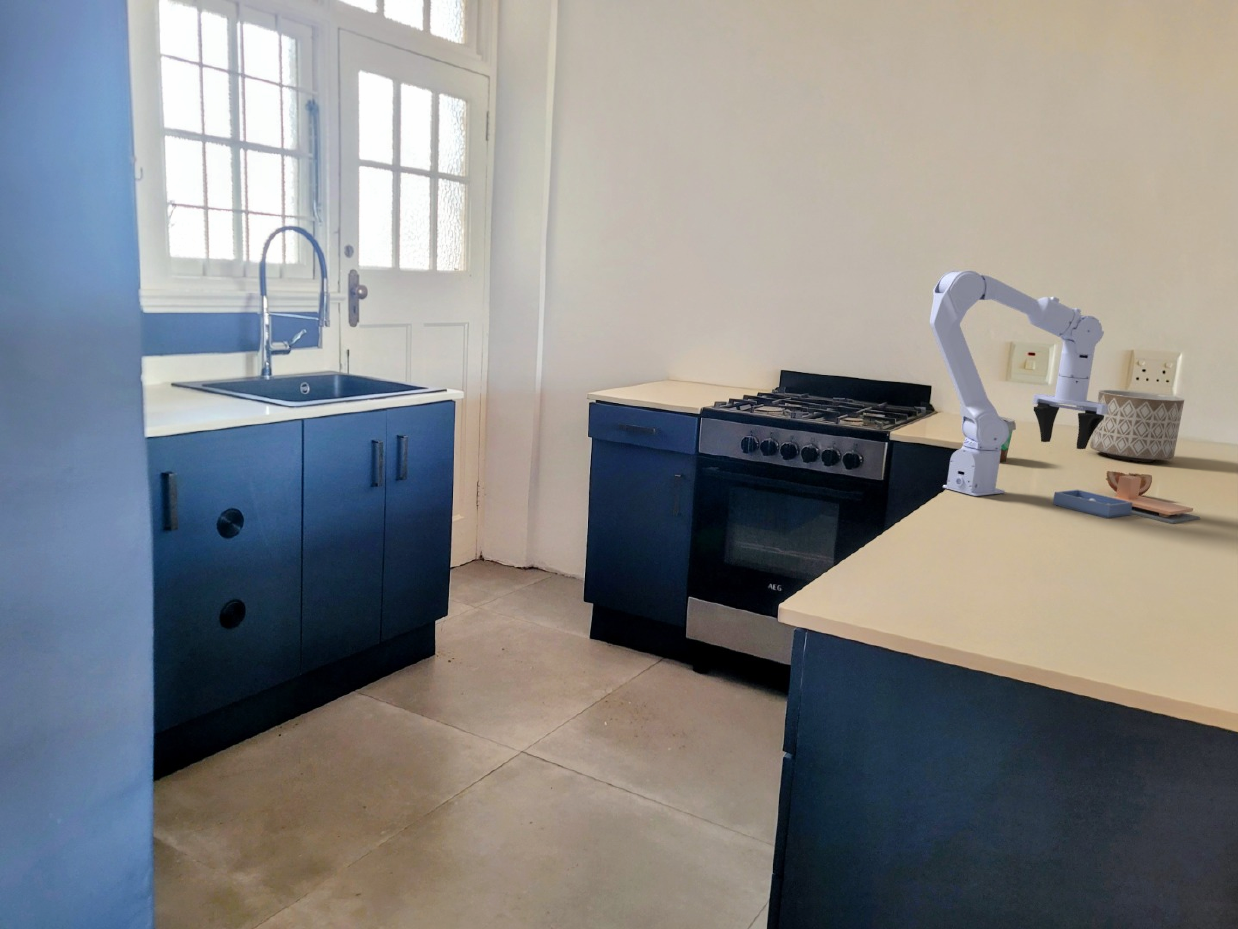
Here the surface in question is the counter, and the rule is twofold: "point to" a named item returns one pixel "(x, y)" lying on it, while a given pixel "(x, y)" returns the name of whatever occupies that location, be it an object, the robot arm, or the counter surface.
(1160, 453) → the planter
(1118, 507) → the blue box
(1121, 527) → the counter surface
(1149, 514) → the mat
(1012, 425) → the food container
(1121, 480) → the lid
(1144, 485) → the fruit slice
